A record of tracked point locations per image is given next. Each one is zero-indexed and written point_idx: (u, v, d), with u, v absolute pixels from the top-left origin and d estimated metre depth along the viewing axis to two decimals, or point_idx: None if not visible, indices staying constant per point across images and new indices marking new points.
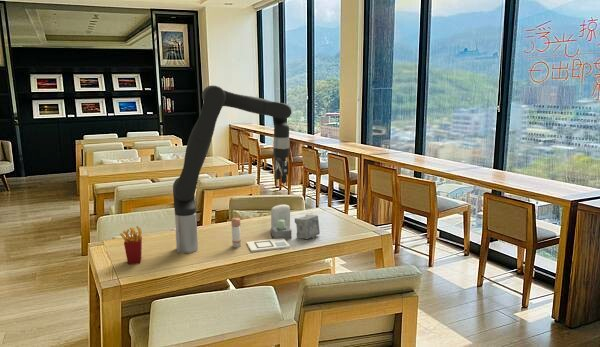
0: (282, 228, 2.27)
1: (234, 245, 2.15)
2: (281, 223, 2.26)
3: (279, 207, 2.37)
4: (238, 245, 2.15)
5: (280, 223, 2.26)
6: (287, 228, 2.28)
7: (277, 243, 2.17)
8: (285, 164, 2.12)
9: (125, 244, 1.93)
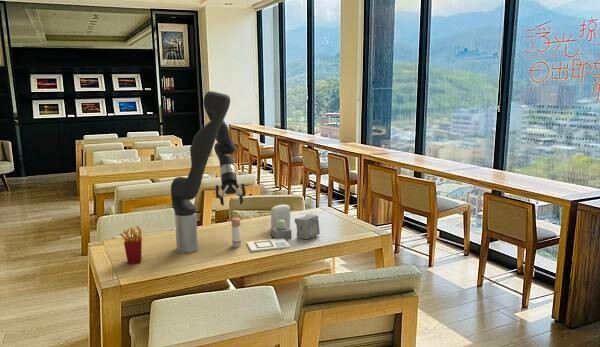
0: (282, 228, 2.27)
1: (234, 245, 2.15)
2: (281, 223, 2.26)
3: (279, 207, 2.37)
4: (238, 245, 2.15)
5: (280, 223, 2.26)
6: (287, 228, 2.28)
7: (277, 243, 2.17)
8: None
9: (125, 244, 1.93)
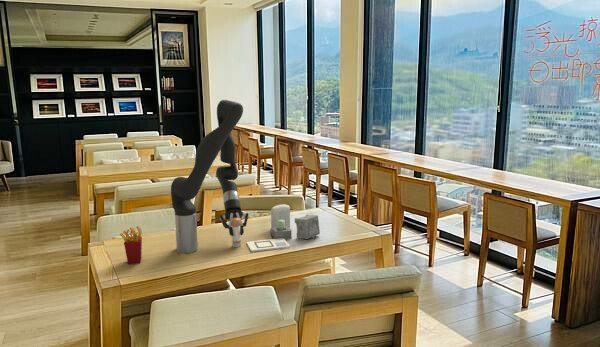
0: (282, 228, 2.27)
1: (234, 245, 2.15)
2: (281, 223, 2.26)
3: (279, 207, 2.37)
4: (238, 245, 2.15)
5: (280, 223, 2.26)
6: (287, 228, 2.28)
7: (277, 243, 2.17)
8: (247, 216, 2.20)
9: (125, 244, 1.93)
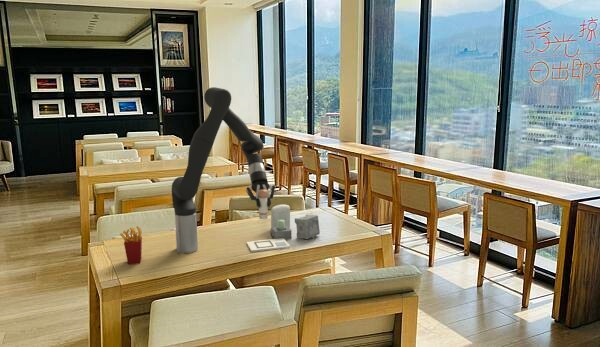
0: (282, 228, 2.27)
1: (261, 217, 2.12)
2: (281, 223, 2.26)
3: (279, 207, 2.37)
4: (265, 217, 2.12)
5: (280, 223, 2.26)
6: (287, 228, 2.28)
7: (277, 243, 2.17)
8: (274, 189, 2.17)
9: (125, 244, 1.93)
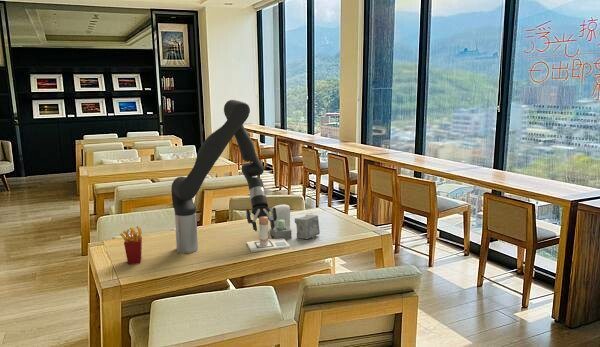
0: (282, 228, 2.27)
1: (262, 243, 2.15)
2: (281, 223, 2.26)
3: (279, 207, 2.37)
4: (266, 243, 2.15)
5: (280, 223, 2.26)
6: (287, 228, 2.28)
7: (277, 243, 2.17)
8: None
9: (125, 244, 1.93)
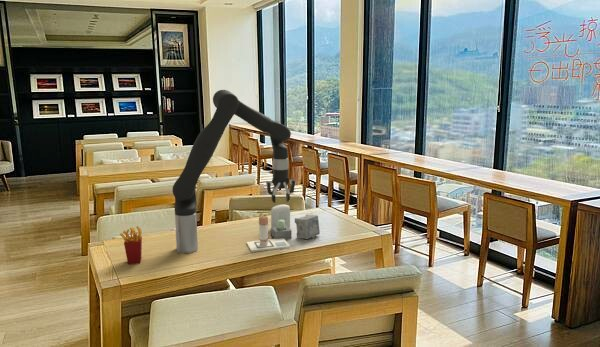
0: (282, 228, 2.27)
1: (262, 243, 2.15)
2: (281, 223, 2.26)
3: (279, 207, 2.37)
4: (266, 243, 2.15)
5: (280, 223, 2.26)
6: (287, 228, 2.28)
7: (277, 243, 2.17)
8: None
9: (125, 244, 1.93)
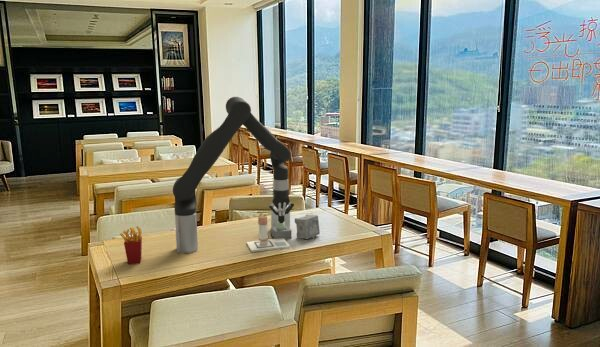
0: None
1: (262, 243, 2.15)
2: (281, 225, 2.26)
3: None
4: (266, 243, 2.15)
5: (280, 225, 2.26)
6: (287, 228, 2.28)
7: (277, 243, 2.17)
8: None
9: (125, 244, 1.93)
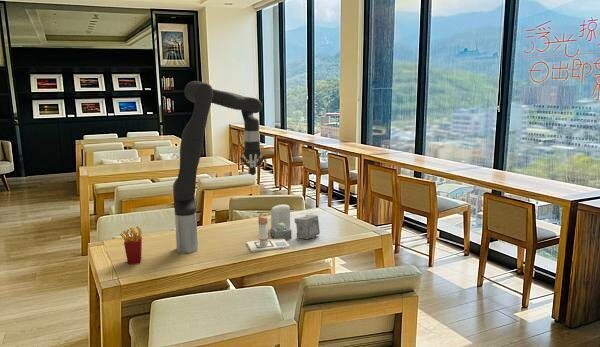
0: None
1: (262, 243, 2.15)
2: (281, 226, 2.26)
3: (279, 207, 2.37)
4: (266, 243, 2.15)
5: (280, 226, 2.26)
6: (287, 228, 2.28)
7: (277, 243, 2.17)
8: None
9: (125, 244, 1.93)
